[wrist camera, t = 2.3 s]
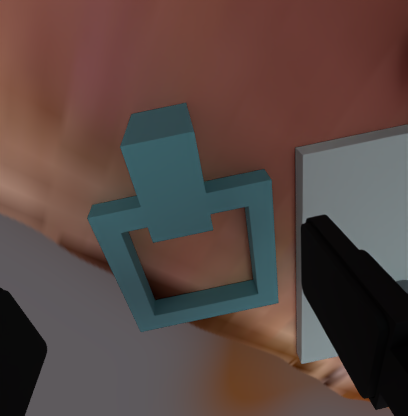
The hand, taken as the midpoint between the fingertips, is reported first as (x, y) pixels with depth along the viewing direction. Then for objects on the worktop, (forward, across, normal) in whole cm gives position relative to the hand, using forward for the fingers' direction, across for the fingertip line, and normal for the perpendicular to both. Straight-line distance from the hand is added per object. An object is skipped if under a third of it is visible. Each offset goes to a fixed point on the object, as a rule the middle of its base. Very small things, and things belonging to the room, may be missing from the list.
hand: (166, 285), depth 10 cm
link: (+10, -1, +4) cm, 11 cm away
